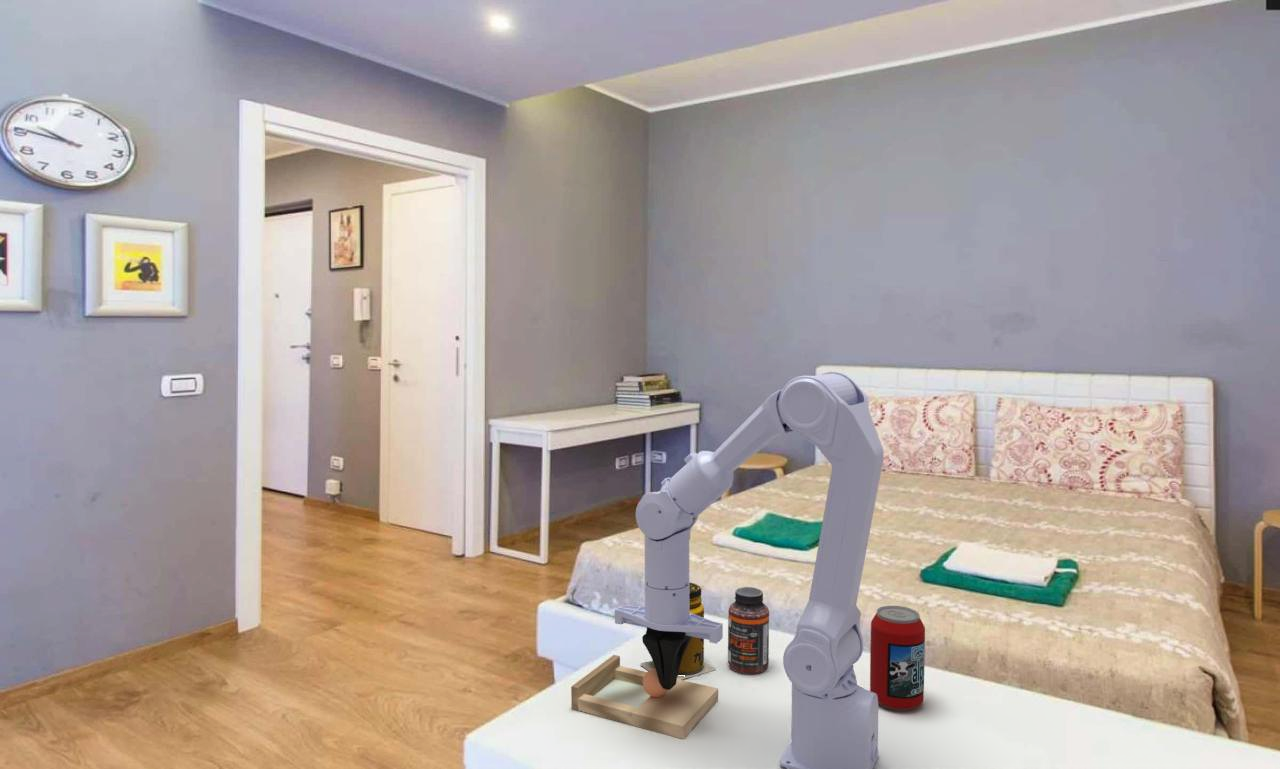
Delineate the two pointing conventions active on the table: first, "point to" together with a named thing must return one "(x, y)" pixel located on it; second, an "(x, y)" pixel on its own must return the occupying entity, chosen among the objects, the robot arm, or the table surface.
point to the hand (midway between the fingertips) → (667, 685)
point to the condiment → (691, 643)
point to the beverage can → (897, 657)
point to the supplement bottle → (748, 632)
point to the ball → (653, 684)
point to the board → (641, 700)
